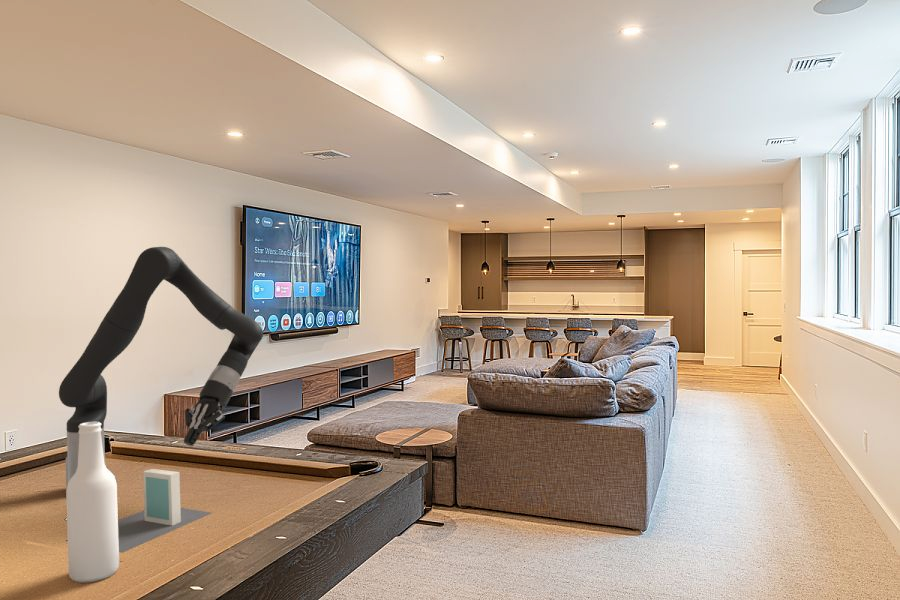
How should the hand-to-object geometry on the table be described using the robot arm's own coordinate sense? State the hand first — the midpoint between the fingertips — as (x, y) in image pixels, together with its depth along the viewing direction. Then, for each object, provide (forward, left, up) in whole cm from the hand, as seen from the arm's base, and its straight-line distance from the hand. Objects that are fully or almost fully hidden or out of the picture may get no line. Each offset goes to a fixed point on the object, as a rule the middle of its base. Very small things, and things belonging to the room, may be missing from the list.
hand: (188, 444), depth 166 cm
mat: (-1, -13, -17) cm, 22 cm away
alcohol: (+11, -35, -17) cm, 41 cm away
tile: (+1, -9, -16) cm, 19 cm away
